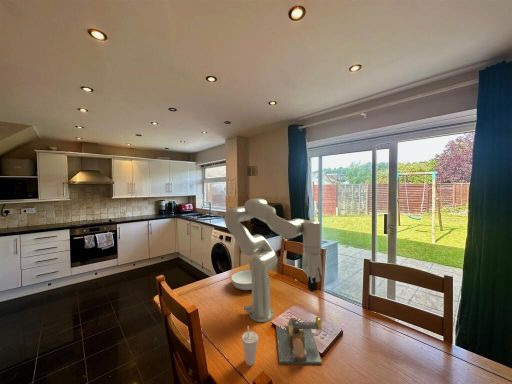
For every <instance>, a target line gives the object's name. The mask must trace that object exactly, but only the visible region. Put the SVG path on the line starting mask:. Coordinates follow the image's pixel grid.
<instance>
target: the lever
mask: <svg viewBox="0 0 512 384" xmlns="http://www.w3.org/2000/svg"><path fill="white" fill-rule="evenodd" d="M322 327H323V326H322V318H321V317H320V316H316V317H315V321H313V322H312V321H299V320H297V319H296V320H293V321H292V329H293V331H294V332H299V331H300V329H311V330H318V331H321V330H322Z"/></svg>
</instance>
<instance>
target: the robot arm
mask: <svg viewBox="0 0 512 384" xmlns="http://www.w3.org/2000/svg"><path fill="white" fill-rule="evenodd" d="M254 218H255V219H257V220H259V221H262V222H263V223H264V224H267V227H269V229H270V230H271V231H273V232H274V233H276V234H277V235H280V236H281V237H284V238H285V239H286V238H287V239H294V238H297V237H298V236H302V242H303V243H302V247H303V248H302V250H303V251H302V258H301V260H302V262H301V270H302V271H303V272H304V273H305V274H306V278H307V289H308V290H309V291H310V292H316V291H318V282H321V278H322V275H323V269H322V256H321V254H322V245H321V244H322V242H321V241H322V239H321V237H322V236H321V235H322V233H321V230H322V229H321V223H320V221H318V220H312V219H311V220H309V219H303V218H293V219H291V220H286V219H285V218H282V217H280V216H278V215H277V210H276V208H275V207H273V206H271V205H268V202H267V200H266V199H265V198H258V197H257V198H250V199H249V200H247V201H245V203H244V205H243V206H242V205H241V206H236V207H231V208H230V209H228V210H227V211H226V212H225V214H224V225H225V227H226V229H227V230H228V232H230V234H231V235H232V236H233V238H234V239H235V241H236V243H237V244H238V246H239V248H240V250H241V251H242V253H244V255H246V256H248V257H251V256H253V255H254V256H253V257H252V258H251V260H250V261H249V264H248V265H249V270H250V272H251V279H252V289H251V301H252V302H251V304H250V305H244V306H243V310H244V311H245V313H248V314H249V318H250V319H251V320H253V321H254V322H257V323H265V322H266V323H267V322H269V321H270V320H272V319H273V318H274V310H273V309H272V308H271V281H270V280H271V279H270V277H269V274H268V271H270V270H272V269H273V268H274V267H276V265H277V264H278V256H277V254H276V251H274V249H273V248H272V246H271V245H270V243H269V241H268V240H267V239H266V238H265V237H264V235H261V234H254V235H252V234H251V233H250V231H249V229H248V228H247V227H246V226H245V225H244V224H242V223H241V222H245V221H246V222H247V221H249V220H252V219H254ZM255 254H256V255H255Z"/></svg>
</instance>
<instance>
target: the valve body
mask: <svg viewBox="0 0 512 384" xmlns="http://www.w3.org/2000/svg"><path fill="white" fill-rule="evenodd" d="M293 320H297V319H296V318H295V317H290V318H289V319H288V322H287V325H283V326H284V327H285V328H286V330H285V328H284V329H282V328H281V326H282V325H275V331H276V341H277V342H276V343H277V352H278V354H277V355H278V364H279V365H322V364H323V361H322V358H321V356H320V352H319V349H318V347H317V344H316V340H315V336H314V334H313V331H312V329H300V331H299V332H294V331H293V329H292V321H293ZM279 326H280V327H279ZM317 349H318V350H317Z"/></svg>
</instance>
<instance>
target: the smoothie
mask: <svg viewBox="0 0 512 384" xmlns="http://www.w3.org/2000/svg"><path fill="white" fill-rule="evenodd" d="M241 342H242V346H243V353H244V359H245V363H246V365H247V366H254V365H255V363H256V359H257V358H256V357H257V348H258V342H259V335H258V334H257V332H254V331H250V325H247V331H245V332H244V333H243V334H242V335H241Z"/></svg>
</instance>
